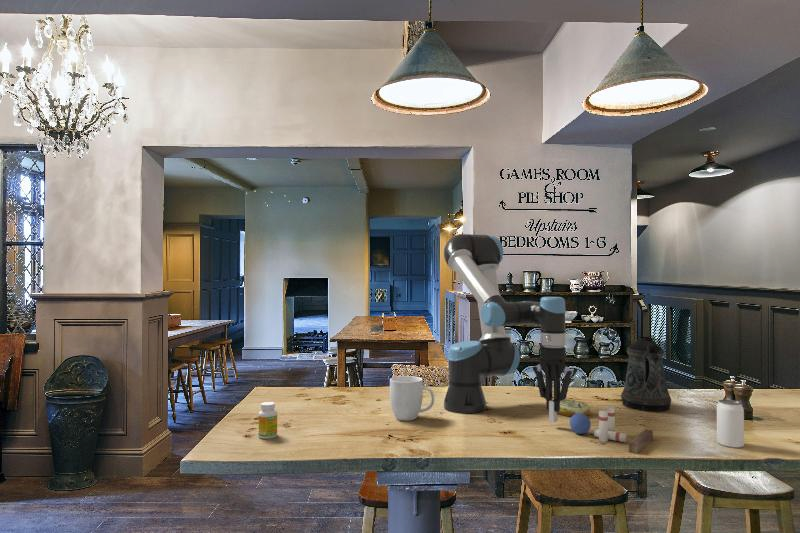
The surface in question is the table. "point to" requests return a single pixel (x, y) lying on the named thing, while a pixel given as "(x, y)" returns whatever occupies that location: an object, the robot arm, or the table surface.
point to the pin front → (613, 436)
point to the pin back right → (603, 426)
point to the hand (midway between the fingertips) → (553, 421)
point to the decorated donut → (573, 408)
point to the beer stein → (645, 378)
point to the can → (730, 423)
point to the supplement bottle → (267, 421)
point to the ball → (580, 423)
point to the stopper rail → (640, 441)
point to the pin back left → (611, 418)
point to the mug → (408, 397)
